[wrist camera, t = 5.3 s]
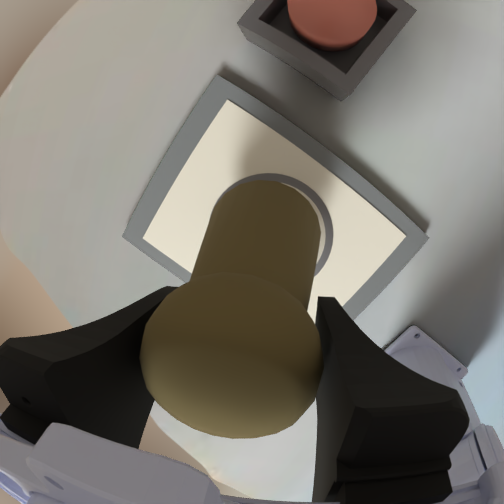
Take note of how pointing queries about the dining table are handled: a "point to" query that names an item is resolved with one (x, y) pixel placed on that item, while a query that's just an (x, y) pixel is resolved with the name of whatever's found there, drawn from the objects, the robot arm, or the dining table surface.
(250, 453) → the dining table surface
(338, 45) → the button
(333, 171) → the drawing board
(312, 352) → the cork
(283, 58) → the button base
